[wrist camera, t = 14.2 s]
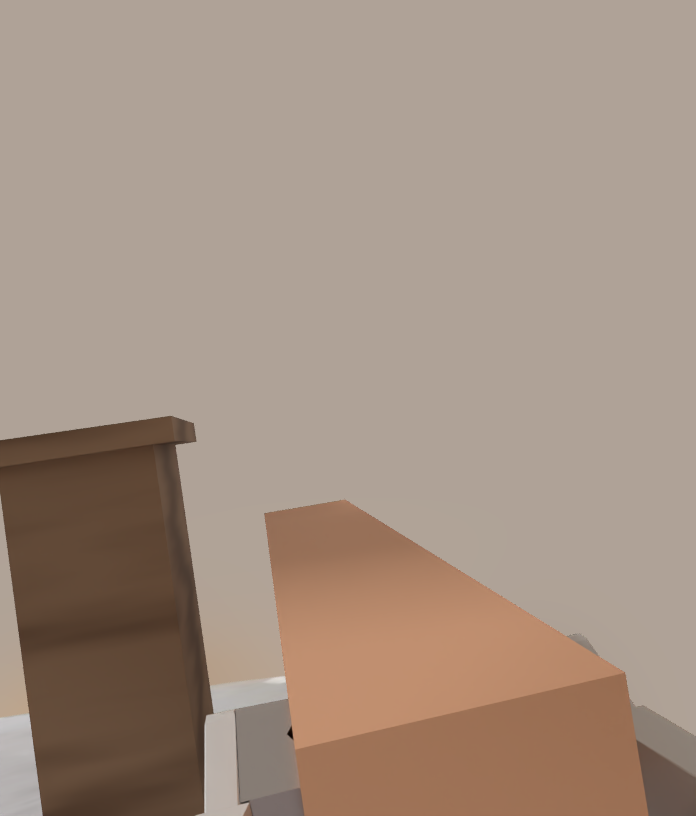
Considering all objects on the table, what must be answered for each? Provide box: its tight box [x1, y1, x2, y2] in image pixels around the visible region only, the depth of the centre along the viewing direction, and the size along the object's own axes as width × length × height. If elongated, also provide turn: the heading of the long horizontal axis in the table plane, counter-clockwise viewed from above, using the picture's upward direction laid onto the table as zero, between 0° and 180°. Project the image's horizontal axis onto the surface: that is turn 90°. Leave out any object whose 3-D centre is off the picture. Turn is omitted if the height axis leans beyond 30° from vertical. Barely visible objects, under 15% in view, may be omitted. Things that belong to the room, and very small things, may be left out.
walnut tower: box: [0, 416, 214, 816], centre depth 27 cm, size 11×9×26 cm
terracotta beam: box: [265, 500, 649, 816], centre depth 18 cm, size 23×4×4 cm, turn 9°
